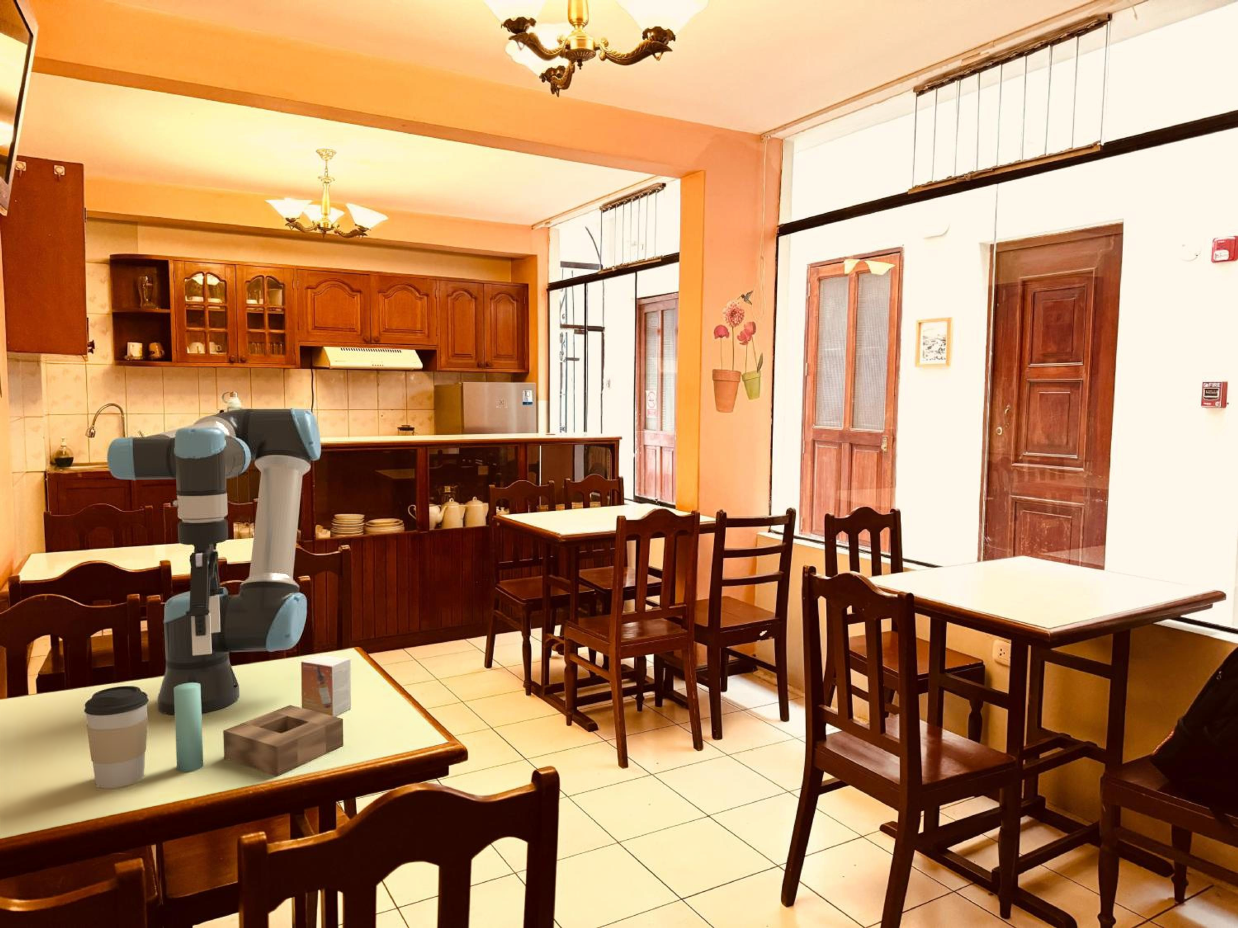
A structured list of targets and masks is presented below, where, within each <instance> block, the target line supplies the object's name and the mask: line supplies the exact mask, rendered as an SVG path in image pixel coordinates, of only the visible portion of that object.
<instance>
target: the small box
mask: <svg viewBox="0 0 1238 928" xmlns="http://www.w3.org/2000/svg"><path fill="white" fill-rule="evenodd" d="M351 666H352V665H351V658H348V657H347V658H343V657H337V656H329V655H325V654H317V655H315V656H313V657H310V658H307V659H305V660H302V661H301V663H300V669H301V671H300V672H301V673H300V675H301V676H300V677H301V680H300V681H301V683H300V684H301V689H300V690H301V693H300V694H301V708H304V709H308V710H312V711H315V712H319V713H323V714H327V715H331V716H334V717H337V716H339V715H341V714H344V713H346V712H347V711H349V710H350V709H352V693H351V692H352V691H351V690H352V689H351V688H352V687H351V686H352V684H351V683H352V682H351V679H352V678H351V675H352V673H351V670H352V668H351Z"/></svg>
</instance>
